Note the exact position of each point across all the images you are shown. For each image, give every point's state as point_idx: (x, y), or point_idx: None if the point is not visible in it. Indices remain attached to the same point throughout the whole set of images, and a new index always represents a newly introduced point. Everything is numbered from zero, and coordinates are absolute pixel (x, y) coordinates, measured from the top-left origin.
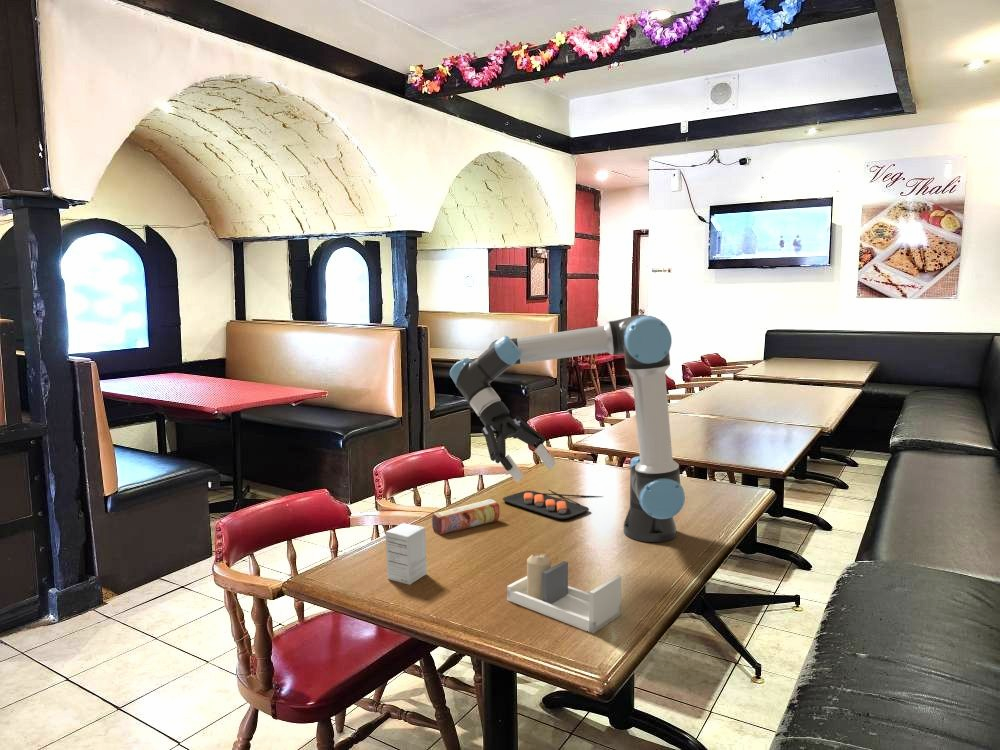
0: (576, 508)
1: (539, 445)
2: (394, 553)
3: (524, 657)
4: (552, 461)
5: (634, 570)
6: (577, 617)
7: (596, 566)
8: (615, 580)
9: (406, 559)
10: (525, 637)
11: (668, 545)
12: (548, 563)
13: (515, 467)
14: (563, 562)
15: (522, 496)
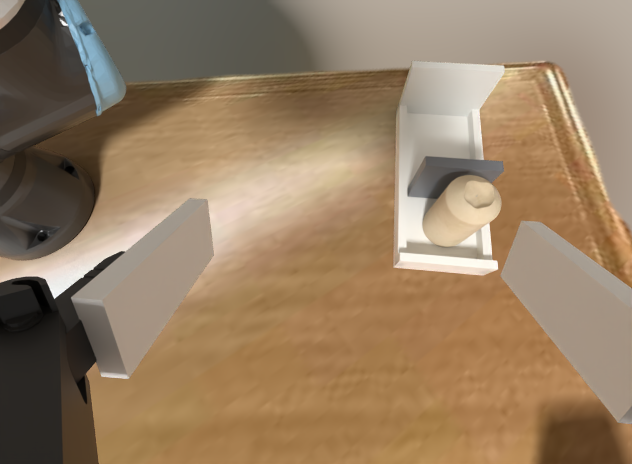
0: None
1: (106, 311)
2: None
3: (592, 154)
4: (198, 210)
5: (236, 157)
6: (480, 128)
7: (254, 216)
8: (431, 63)
9: None
10: (552, 181)
11: (95, 155)
12: (470, 175)
13: (588, 258)
14: (432, 162)
15: None
